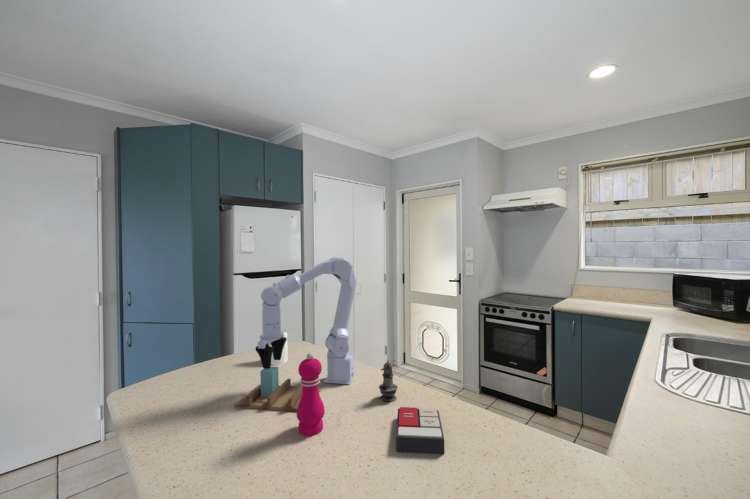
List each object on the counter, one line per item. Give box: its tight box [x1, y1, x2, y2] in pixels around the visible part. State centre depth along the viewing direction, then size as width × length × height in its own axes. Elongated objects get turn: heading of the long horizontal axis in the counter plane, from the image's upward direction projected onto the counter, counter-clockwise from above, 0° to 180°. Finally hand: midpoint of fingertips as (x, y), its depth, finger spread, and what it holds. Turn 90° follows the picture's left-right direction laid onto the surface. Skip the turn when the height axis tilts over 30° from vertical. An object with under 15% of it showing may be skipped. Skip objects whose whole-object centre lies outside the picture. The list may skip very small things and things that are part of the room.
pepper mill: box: [296, 352, 326, 437], centre depth 84 cm, size 7×7×20 cm
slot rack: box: [234, 378, 321, 413], centre depth 101 cm, size 22×14×4 cm, turn 81°
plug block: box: [260, 366, 280, 397], centre depth 102 cm, size 4×4×8 cm
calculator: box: [395, 406, 445, 455], centre depth 81 cm, size 11×4×15 cm
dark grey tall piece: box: [378, 360, 398, 403], centre depth 101 cm, size 6×6×12 cm
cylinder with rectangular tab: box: [269, 331, 289, 366], centre depth 135 cm, size 9×9×12 cm
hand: (272, 363), depth 106 cm, fingers open, 7 cm apart
